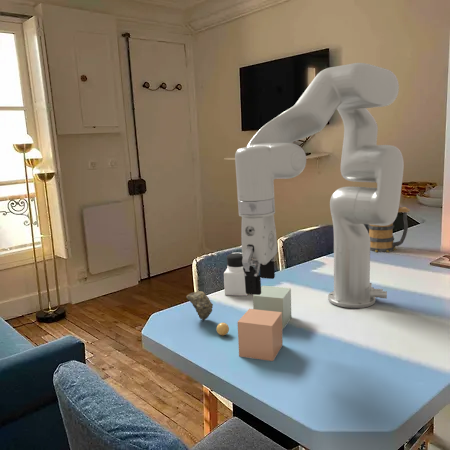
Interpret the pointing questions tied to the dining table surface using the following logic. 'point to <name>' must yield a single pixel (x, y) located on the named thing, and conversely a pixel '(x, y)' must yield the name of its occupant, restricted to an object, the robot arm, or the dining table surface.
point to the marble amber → (222, 329)
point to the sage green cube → (274, 301)
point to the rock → (201, 304)
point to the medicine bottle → (234, 276)
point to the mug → (386, 235)
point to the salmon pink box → (260, 334)
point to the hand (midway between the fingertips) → (260, 285)
